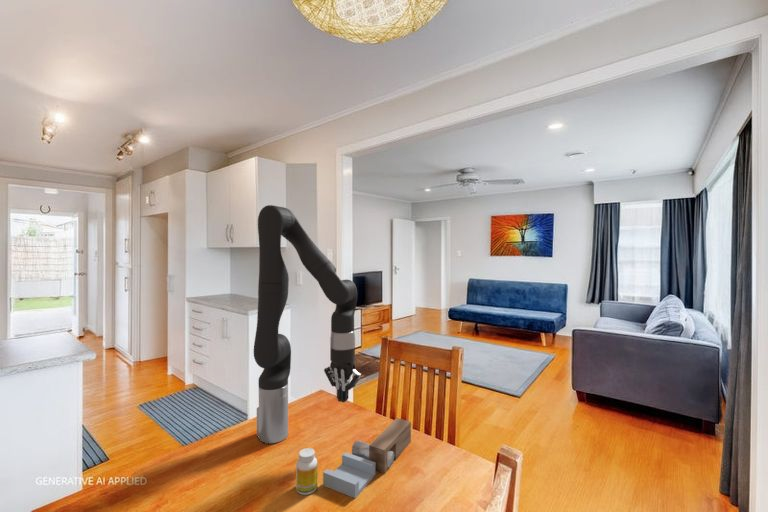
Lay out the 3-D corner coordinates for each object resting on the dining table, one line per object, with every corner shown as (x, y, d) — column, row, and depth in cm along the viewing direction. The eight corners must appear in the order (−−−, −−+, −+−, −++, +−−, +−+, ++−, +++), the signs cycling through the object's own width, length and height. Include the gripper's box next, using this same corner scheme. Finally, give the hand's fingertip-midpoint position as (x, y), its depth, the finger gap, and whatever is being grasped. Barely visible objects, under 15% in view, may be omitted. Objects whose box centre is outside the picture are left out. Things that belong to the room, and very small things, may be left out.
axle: (352, 458, 104) (350, 447, 103) (360, 448, 108) (358, 437, 107) (388, 471, 99) (386, 458, 98) (394, 460, 102) (393, 448, 101)
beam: (369, 468, 99) (369, 445, 99) (396, 437, 115) (396, 417, 115) (384, 473, 97) (384, 450, 96) (410, 441, 112) (410, 421, 112)
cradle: (323, 485, 92) (323, 472, 92) (345, 464, 101) (345, 452, 101) (355, 498, 87) (355, 484, 87) (375, 474, 96) (375, 462, 96)
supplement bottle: (294, 485, 92) (294, 449, 92) (314, 479, 94) (314, 444, 94) (298, 498, 87) (298, 460, 87) (319, 491, 90) (319, 455, 89)
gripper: (317, 345, 107) (317, 401, 108) (354, 351, 101) (354, 411, 102) (332, 339, 114) (332, 392, 114) (367, 345, 108) (367, 400, 108)
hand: (342, 400), depth 108 cm, fingers closed
